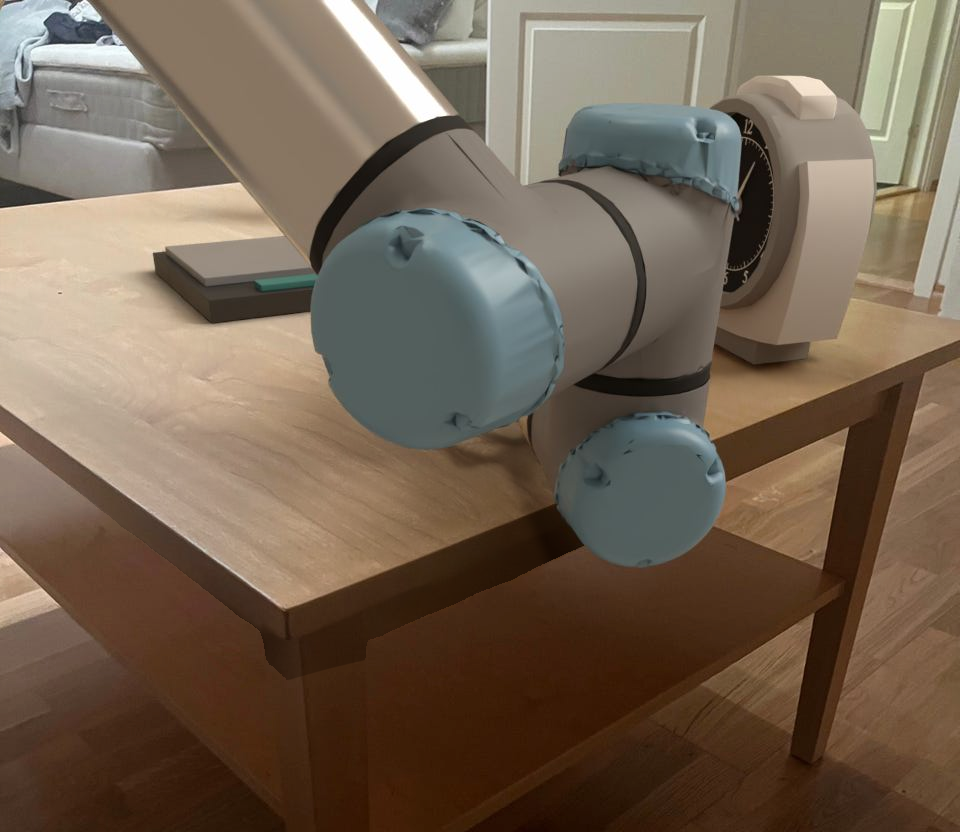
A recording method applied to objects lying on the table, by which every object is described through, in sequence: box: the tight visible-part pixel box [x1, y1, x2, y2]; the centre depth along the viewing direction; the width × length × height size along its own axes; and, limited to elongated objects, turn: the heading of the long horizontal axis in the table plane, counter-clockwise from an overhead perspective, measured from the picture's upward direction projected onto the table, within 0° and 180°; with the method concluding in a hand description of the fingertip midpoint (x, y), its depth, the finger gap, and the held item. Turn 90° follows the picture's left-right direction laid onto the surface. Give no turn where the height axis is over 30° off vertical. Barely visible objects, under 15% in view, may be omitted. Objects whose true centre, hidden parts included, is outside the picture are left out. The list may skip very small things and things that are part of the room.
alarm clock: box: [709, 75, 878, 365], centre depth 81 cm, size 18×8×20 cm, turn 21°
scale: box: [152, 235, 318, 324], centre depth 98 cm, size 20×16×3 cm
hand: (510, 296), depth 76 cm, fingers open, 13 cm apart
